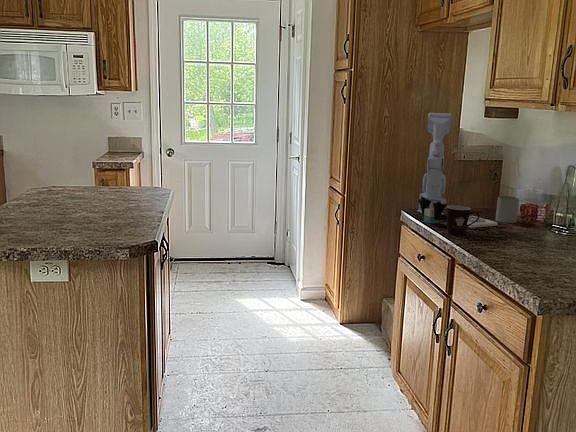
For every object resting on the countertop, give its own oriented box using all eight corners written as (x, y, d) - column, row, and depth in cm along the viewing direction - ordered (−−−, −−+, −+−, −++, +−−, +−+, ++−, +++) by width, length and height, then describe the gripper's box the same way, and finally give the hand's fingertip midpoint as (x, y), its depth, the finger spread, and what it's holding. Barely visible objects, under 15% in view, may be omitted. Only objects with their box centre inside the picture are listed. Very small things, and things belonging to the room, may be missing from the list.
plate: (447, 220, 237) (447, 215, 237) (472, 218, 243) (473, 213, 243) (471, 227, 225) (471, 222, 224) (497, 225, 231) (497, 220, 230)
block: (423, 221, 234) (424, 208, 233) (431, 220, 236) (432, 207, 235) (429, 223, 231) (430, 210, 230) (437, 222, 232) (438, 209, 231)
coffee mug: (442, 234, 212) (444, 208, 210) (447, 229, 220) (449, 204, 218) (474, 238, 207) (476, 211, 205) (478, 233, 215) (480, 208, 213)
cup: (517, 223, 236) (520, 200, 234) (497, 222, 237) (499, 198, 235) (514, 219, 244) (516, 196, 242) (494, 218, 246) (496, 195, 244)
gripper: (414, 183, 235) (412, 215, 238) (437, 188, 222) (434, 222, 225) (428, 182, 238) (425, 214, 241) (451, 188, 225) (448, 221, 228)
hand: (430, 218), depth 233 cm, fingers open, 7 cm apart
